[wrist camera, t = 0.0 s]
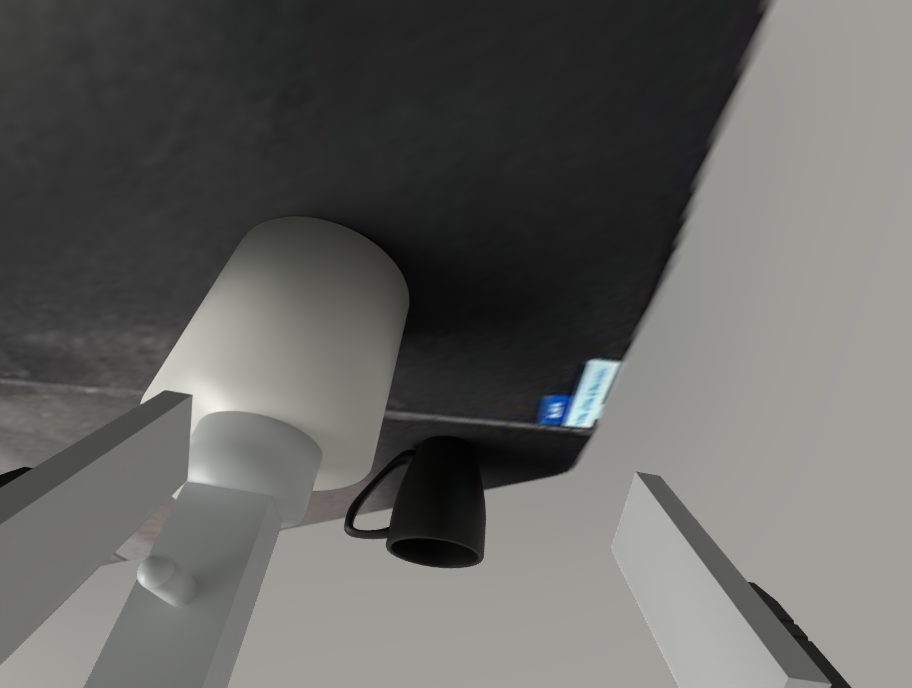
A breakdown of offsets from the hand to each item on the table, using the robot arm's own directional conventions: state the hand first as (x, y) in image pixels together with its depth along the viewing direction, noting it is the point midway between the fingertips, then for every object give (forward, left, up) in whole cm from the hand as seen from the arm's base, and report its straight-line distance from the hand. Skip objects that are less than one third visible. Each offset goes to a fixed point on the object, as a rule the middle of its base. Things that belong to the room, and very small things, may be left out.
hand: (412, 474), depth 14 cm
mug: (+28, +2, -16) cm, 32 cm away
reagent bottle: (+9, -7, -15) cm, 19 cm away
